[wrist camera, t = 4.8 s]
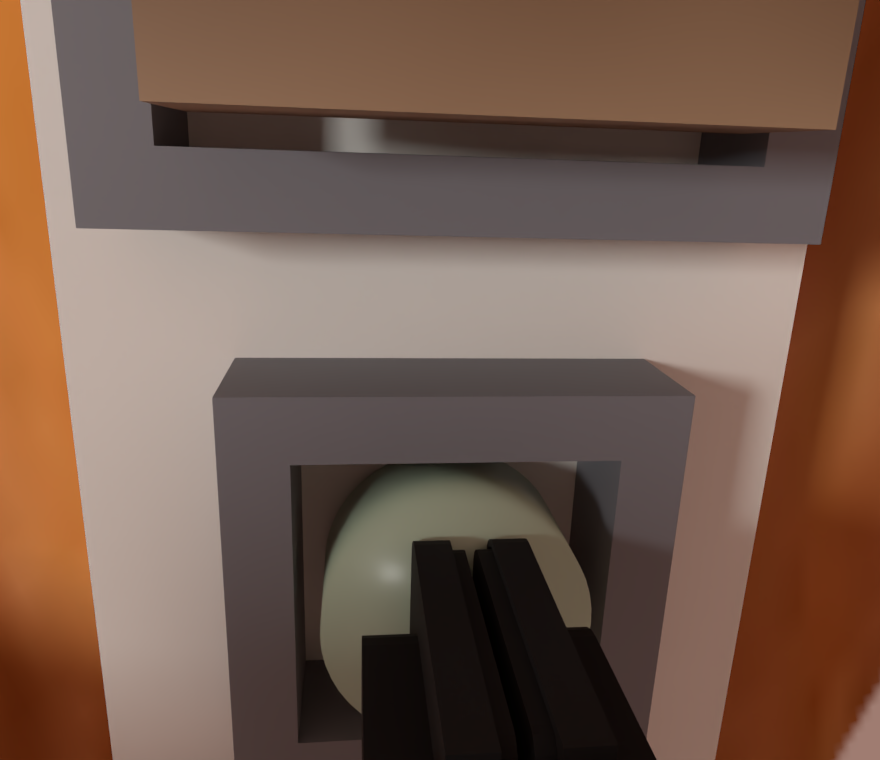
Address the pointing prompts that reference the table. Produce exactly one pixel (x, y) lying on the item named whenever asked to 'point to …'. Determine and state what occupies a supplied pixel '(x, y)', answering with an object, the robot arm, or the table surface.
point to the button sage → (428, 519)
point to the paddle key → (504, 61)
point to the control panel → (403, 374)
